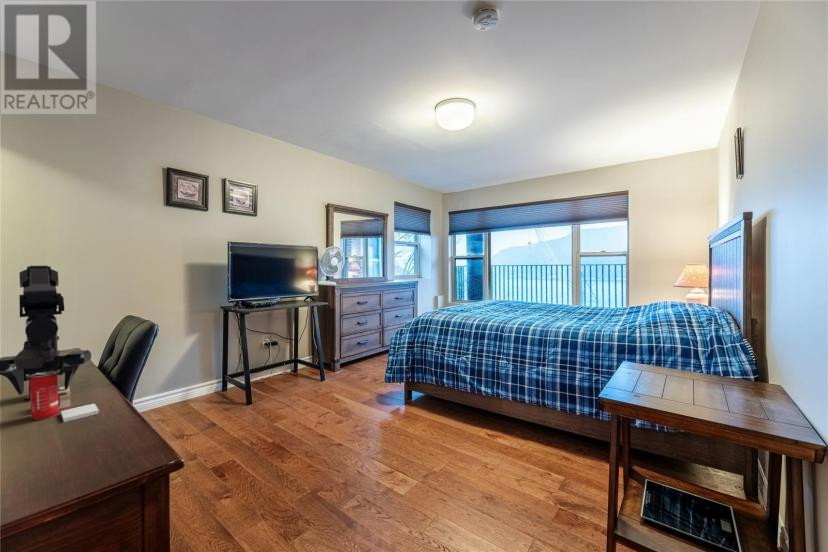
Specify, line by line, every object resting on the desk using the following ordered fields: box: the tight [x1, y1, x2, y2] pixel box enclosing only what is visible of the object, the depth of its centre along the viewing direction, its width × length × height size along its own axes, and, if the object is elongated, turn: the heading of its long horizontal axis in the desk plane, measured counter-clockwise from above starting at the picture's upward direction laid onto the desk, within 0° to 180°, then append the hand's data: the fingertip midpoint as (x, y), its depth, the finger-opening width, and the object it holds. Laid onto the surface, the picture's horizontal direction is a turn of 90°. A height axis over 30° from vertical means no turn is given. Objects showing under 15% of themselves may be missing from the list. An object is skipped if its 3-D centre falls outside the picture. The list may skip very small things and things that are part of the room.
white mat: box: [60, 403, 100, 423], centre depth 97 cm, size 7×7×1 cm
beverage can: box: [29, 371, 60, 421], centre depth 96 cm, size 5×5×12 cm
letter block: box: [58, 386, 71, 410], centre depth 103 cm, size 5×5×5 cm
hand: (44, 391), depth 96 cm, fingers open, 9 cm apart
